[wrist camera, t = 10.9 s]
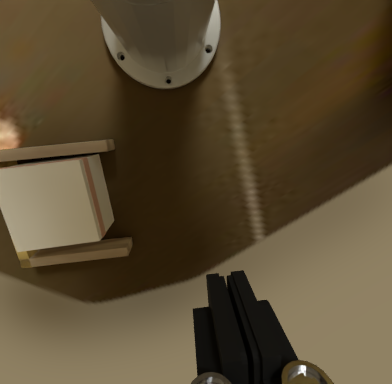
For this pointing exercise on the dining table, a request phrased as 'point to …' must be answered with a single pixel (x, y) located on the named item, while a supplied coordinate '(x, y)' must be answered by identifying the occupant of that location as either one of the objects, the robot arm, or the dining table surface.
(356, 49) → the dining table surface
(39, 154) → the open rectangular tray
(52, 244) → the carton
